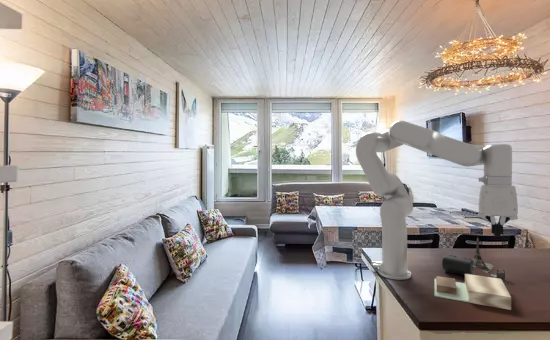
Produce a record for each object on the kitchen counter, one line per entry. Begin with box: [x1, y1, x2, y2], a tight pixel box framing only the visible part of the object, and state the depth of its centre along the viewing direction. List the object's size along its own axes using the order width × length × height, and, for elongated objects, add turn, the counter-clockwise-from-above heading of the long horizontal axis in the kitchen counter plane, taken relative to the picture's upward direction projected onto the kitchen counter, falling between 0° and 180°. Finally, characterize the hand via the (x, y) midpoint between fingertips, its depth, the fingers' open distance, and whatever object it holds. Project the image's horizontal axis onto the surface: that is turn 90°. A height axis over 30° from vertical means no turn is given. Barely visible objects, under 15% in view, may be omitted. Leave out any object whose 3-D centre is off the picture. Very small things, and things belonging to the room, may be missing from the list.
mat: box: [433, 278, 469, 303], centre depth 107 cm, size 10×16×1 cm, turn 152°
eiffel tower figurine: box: [471, 237, 495, 274], centre depth 131 cm, size 15×10×13 cm
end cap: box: [441, 254, 475, 277], centre depth 122 cm, size 10×7×7 cm
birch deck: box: [464, 274, 512, 311], centre depth 102 cm, size 11×16×4 cm
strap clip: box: [490, 269, 511, 285], centre depth 115 cm, size 8×3×4 cm, turn 172°
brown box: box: [435, 275, 457, 295], centre depth 107 cm, size 6×9×2 cm, turn 152°
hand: (497, 235), depth 100 cm, fingers closed
